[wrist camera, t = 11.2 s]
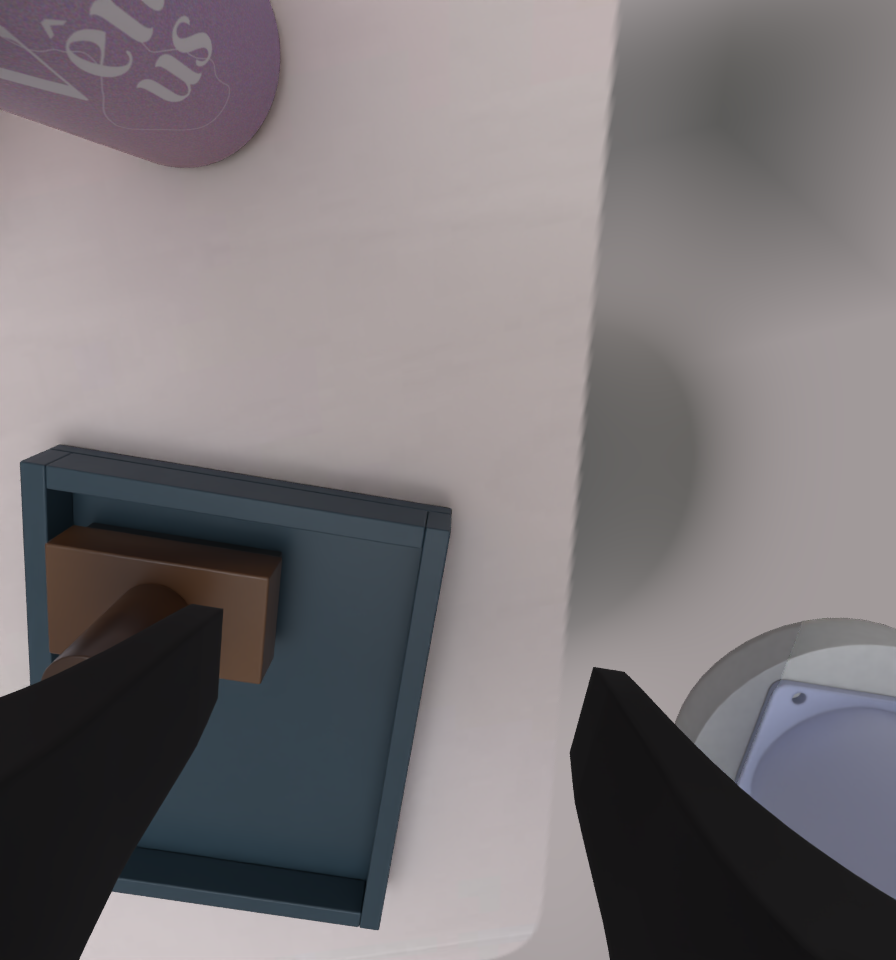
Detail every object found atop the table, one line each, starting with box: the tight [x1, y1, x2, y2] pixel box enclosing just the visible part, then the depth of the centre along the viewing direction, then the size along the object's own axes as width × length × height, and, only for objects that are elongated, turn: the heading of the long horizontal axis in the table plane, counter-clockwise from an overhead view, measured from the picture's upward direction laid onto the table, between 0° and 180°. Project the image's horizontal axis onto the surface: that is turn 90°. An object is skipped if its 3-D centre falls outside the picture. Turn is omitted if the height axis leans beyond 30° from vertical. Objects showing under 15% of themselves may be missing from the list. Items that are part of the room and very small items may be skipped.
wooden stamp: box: [41, 523, 282, 684], centre depth 20 cm, size 7×4×6 cm, turn 81°
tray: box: [20, 445, 452, 930], centre depth 24 cm, size 14×18×2 cm
